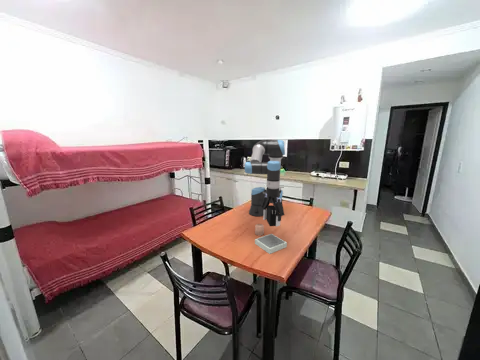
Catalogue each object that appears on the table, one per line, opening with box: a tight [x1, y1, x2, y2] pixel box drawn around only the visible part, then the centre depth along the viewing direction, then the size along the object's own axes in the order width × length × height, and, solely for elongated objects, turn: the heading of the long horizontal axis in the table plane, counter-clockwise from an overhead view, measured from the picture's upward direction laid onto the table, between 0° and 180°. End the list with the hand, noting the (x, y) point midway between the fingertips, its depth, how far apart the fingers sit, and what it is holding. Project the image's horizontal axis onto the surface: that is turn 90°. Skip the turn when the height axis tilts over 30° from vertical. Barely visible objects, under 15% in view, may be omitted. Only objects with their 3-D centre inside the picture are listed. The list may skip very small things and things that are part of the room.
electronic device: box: [266, 204, 277, 227], centre depth 122 cm, size 4×10×10 cm, turn 5°
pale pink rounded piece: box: [254, 223, 265, 237], centre depth 141 cm, size 6×6×6 cm
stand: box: [254, 233, 288, 255], centre depth 126 cm, size 14×14×3 cm
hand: (271, 222), depth 123 cm, fingers closed on electronic device, 11 cm apart
